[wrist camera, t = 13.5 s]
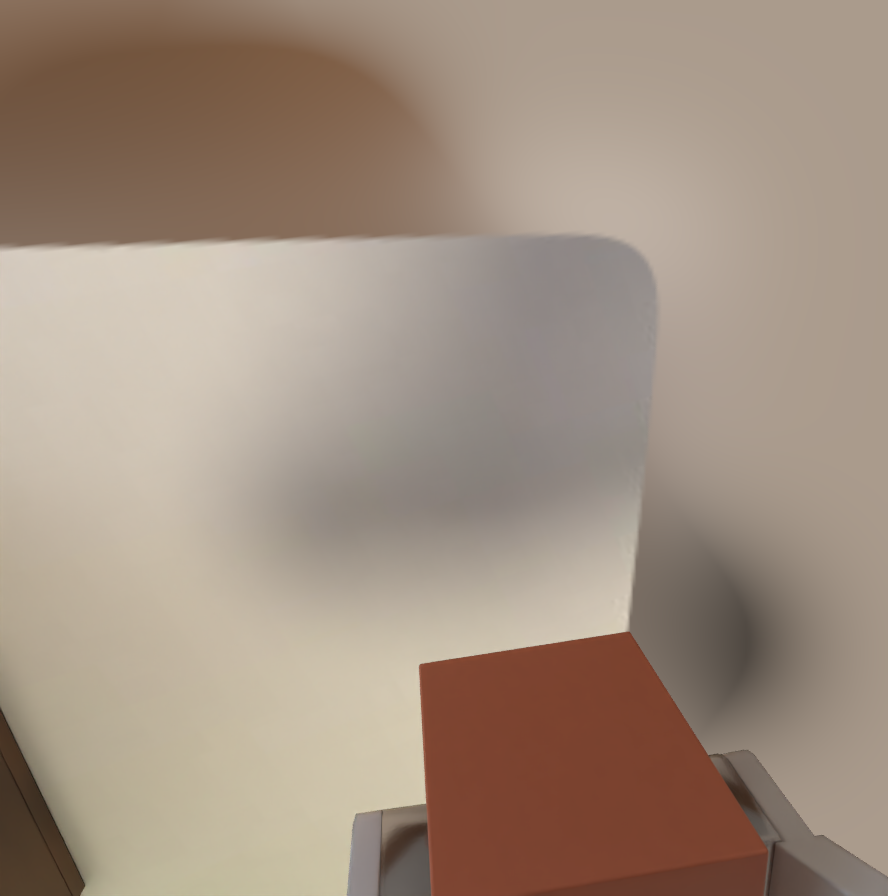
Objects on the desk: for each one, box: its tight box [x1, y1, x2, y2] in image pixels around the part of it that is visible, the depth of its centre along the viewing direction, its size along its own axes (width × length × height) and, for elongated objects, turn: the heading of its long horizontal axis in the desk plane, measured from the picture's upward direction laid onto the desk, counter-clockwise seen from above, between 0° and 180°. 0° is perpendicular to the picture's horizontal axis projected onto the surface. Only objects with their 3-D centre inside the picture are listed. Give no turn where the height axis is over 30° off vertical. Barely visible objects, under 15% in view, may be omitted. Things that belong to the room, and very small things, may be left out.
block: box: [419, 632, 769, 896], centre depth 10 cm, size 4×4×4 cm
